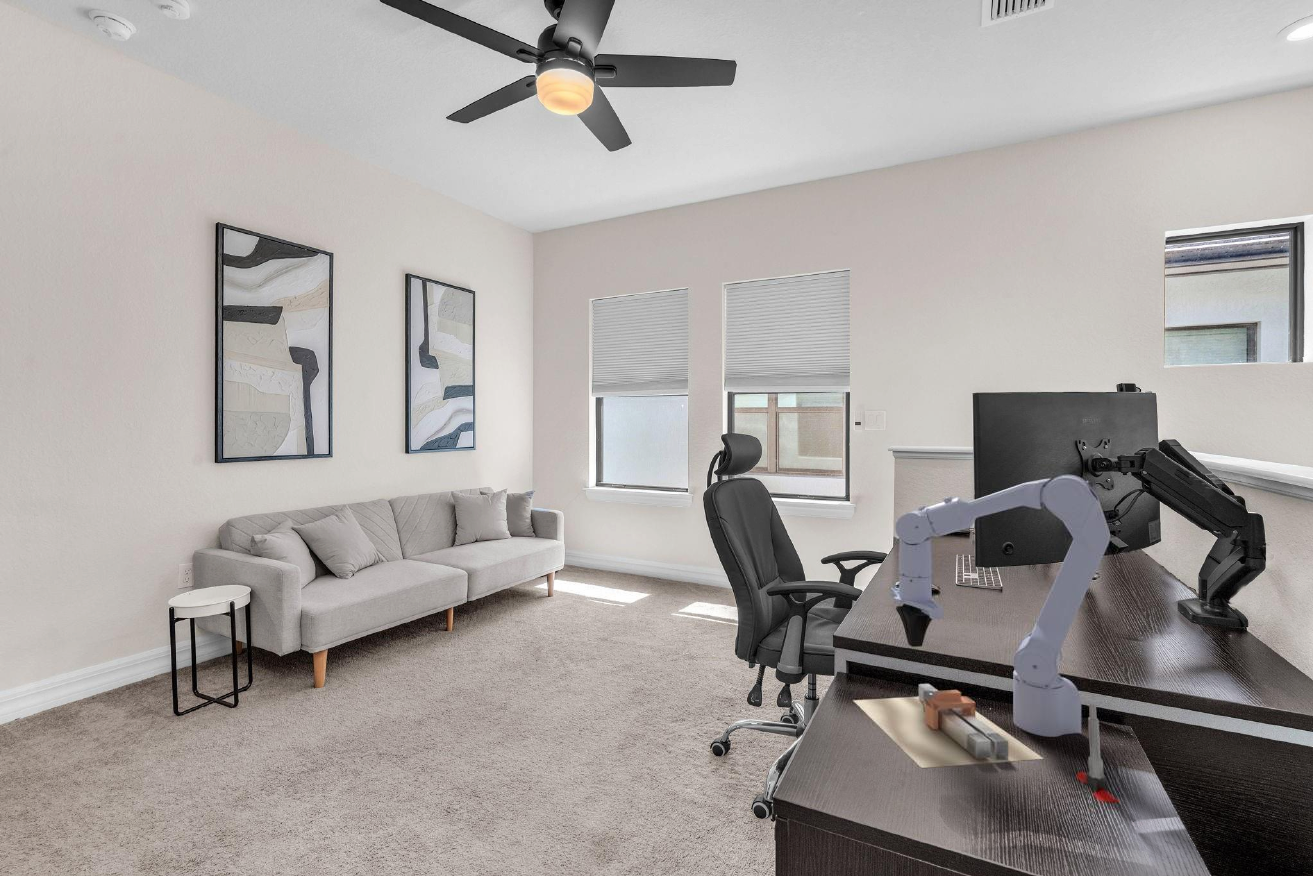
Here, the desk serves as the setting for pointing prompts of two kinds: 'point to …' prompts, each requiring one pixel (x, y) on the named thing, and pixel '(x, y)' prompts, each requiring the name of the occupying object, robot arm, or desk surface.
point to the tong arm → (964, 734)
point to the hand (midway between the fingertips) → (915, 645)
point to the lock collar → (946, 705)
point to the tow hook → (1095, 761)
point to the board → (931, 734)
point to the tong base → (971, 724)
